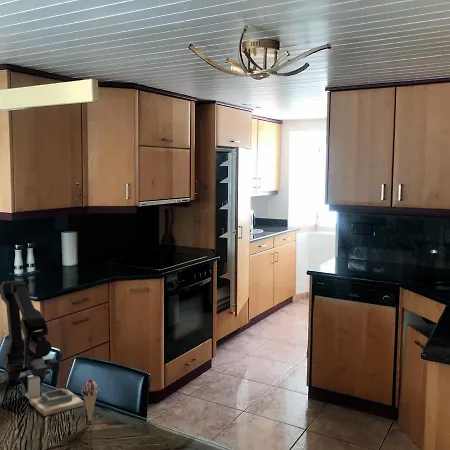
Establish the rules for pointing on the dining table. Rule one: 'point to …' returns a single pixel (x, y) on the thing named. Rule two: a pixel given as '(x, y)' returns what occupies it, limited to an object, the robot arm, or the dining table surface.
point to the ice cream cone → (90, 396)
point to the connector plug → (33, 386)
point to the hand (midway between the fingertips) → (32, 391)
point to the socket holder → (55, 401)
